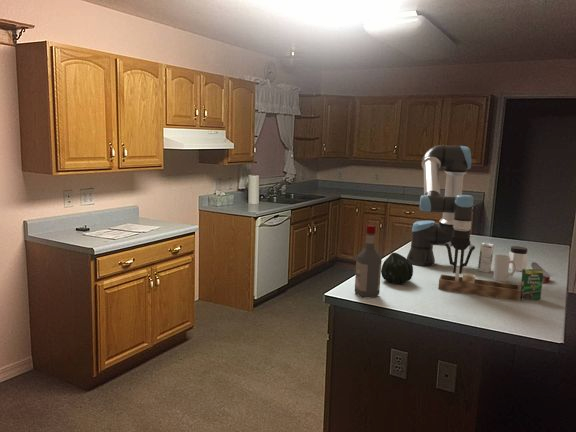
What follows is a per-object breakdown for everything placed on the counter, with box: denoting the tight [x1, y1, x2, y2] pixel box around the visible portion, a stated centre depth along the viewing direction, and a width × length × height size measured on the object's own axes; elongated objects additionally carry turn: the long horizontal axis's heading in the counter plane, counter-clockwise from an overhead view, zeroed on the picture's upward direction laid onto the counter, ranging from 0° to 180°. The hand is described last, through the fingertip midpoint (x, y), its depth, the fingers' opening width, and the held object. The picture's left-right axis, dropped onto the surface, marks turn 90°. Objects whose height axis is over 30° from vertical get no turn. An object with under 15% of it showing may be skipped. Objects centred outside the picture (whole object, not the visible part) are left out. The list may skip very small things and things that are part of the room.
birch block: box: [462, 272, 476, 284], centre depth 217 cm, size 5×5×4 cm
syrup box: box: [477, 242, 495, 273], centre depth 253 cm, size 6×6×14 cm
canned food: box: [530, 261, 551, 284], centre depth 240 cm, size 11×10×10 cm
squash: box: [381, 252, 414, 285], centre depth 227 cm, size 14×15×15 cm
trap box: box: [437, 273, 521, 302], centre depth 216 cm, size 34×10×4 cm, turn 67°
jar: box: [508, 245, 529, 272], centre depth 259 cm, size 9×8×12 cm
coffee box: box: [520, 268, 543, 301], centre depth 208 cm, size 8×3×13 cm, turn 90°
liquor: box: [354, 224, 382, 298], centre depth 204 cm, size 9×9×30 cm
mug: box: [493, 254, 517, 282], centre depth 236 cm, size 10×7×12 cm, turn 55°
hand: (456, 280), depth 219 cm, fingers closed
